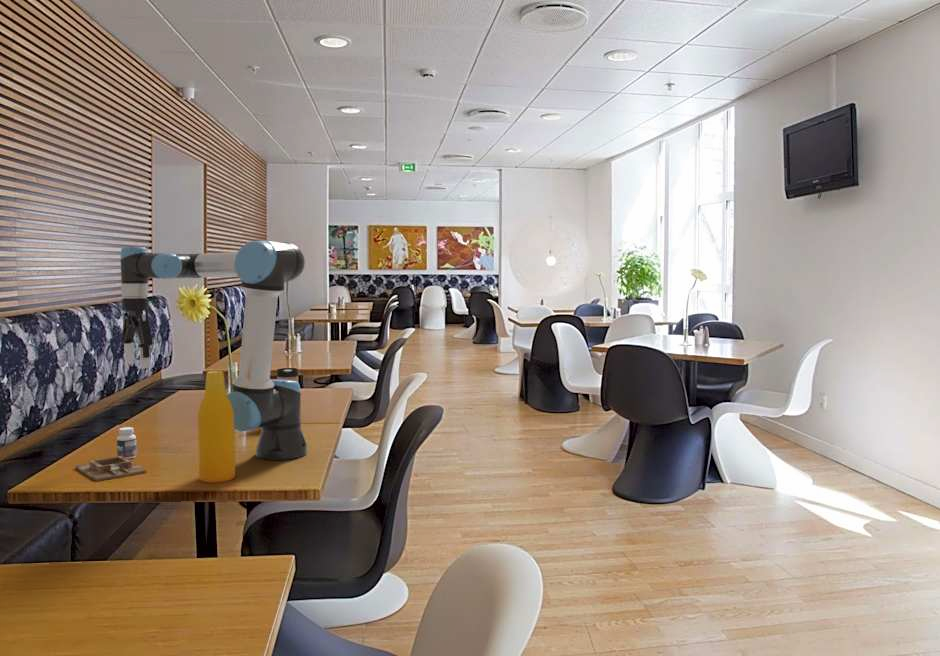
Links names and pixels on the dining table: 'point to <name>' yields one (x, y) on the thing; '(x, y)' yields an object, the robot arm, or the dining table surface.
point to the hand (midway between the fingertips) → (137, 366)
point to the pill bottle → (126, 443)
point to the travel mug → (287, 374)
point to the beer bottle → (216, 432)
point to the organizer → (110, 468)
